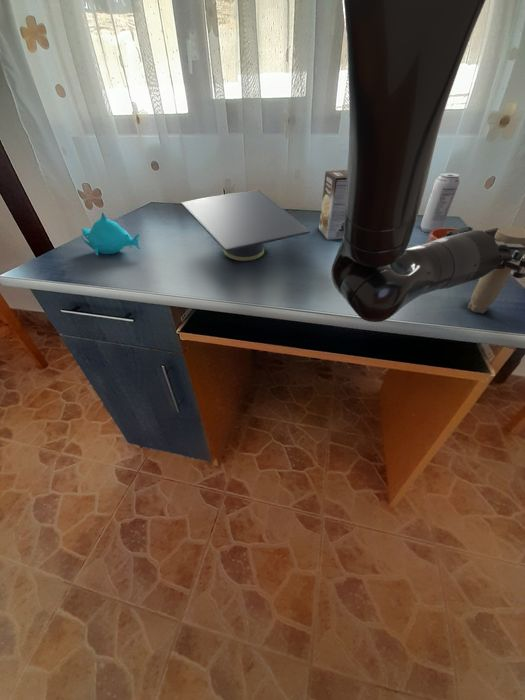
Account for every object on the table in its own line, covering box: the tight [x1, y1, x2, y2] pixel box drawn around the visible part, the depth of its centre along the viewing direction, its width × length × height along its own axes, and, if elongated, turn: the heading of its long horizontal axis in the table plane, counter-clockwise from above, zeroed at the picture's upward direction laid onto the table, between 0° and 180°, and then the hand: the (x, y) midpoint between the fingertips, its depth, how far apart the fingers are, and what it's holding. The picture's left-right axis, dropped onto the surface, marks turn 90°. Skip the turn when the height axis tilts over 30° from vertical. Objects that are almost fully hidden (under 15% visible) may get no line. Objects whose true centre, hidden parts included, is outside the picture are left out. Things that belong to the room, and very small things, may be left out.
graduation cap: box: [180, 190, 311, 262], centre depth 77 cm, size 28×23×10 cm
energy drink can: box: [419, 172, 460, 234], centre depth 86 cm, size 6×6×15 cm
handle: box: [467, 226, 525, 314], centre depth 53 cm, size 5×6×15 cm
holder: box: [426, 227, 458, 243], centre depth 73 cm, size 11×11×6 cm
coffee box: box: [318, 169, 347, 240], centre depth 84 cm, size 9×6×16 cm
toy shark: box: [81, 211, 141, 256], centre depth 76 cm, size 10×18×11 cm, turn 72°
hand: (519, 242), depth 50 cm, fingers open, 7 cm apart
